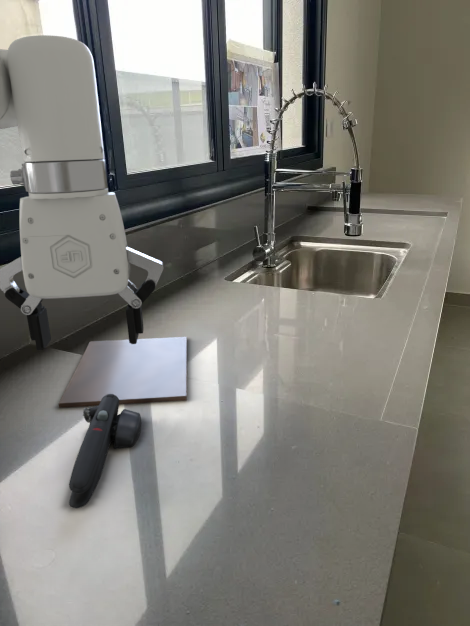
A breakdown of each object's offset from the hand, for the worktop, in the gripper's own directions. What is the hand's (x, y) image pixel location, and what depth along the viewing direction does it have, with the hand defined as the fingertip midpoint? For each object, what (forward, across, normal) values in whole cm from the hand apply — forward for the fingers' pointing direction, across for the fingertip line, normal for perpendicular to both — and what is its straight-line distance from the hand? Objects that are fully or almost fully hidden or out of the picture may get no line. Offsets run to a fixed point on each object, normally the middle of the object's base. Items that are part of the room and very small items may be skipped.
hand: (89, 342), depth 54 cm
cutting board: (+15, +1, +25) cm, 29 cm away
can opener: (+16, 0, 0) cm, 16 cm away
